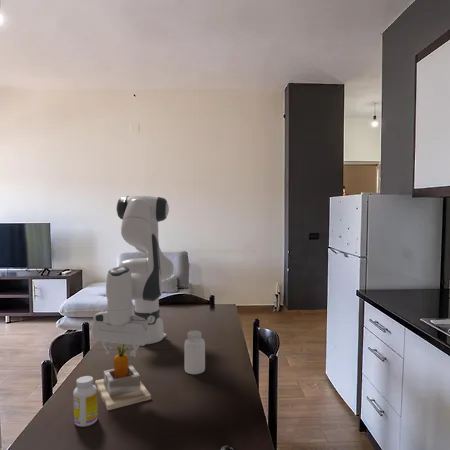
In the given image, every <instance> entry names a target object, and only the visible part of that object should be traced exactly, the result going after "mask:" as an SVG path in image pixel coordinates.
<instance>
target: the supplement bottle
mask: <svg viewBox="0 0 450 450" xmlns="http://www.w3.org/2000/svg"><path fill="white" fill-rule="evenodd" d="M75 382H76V384H75V385H76V387H75V388H74V389H73V392H72V394H73V395H72V398H73V400H72V401H73V422H74V424H75V426H77V427H89V426H91V425H93V424H95V423H96V422H97V420H98V417H99V413H98V389H97V387H96V385H95V384H94V377H93V376H91V375H85V376H80V377H78V378H77V379H76V381H75Z"/></svg>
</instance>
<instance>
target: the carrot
mask: <svg viewBox="0 0 450 450" xmlns="http://www.w3.org/2000/svg"><path fill="white" fill-rule="evenodd" d="M121 345H122V346H121ZM121 345H118V346H117V347H116V350H117V352H118V354H116V355H115V356H114V357H113V369H114V371H115V376H116V379H118V378H123V377H127V374H128V366H129V360H130V359H129V356H128V355H127V354H126V351H127V350H129V347H125V345H126V344H121Z"/></svg>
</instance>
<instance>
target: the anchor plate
mask: <svg viewBox="0 0 450 450" xmlns="http://www.w3.org/2000/svg"><path fill="white" fill-rule="evenodd" d="M94 382H95V383H94V385H95V386H96V388H97V393H98V394H99V396H100V397H101V400H102V402H103V403H104V406H105V408H106V410H107V411H112V410H115V409H118V408H122V407H125V406H130V405H134V404H138V403H142V402H146V401H149V400H152V395H151V393H150V392H149V391H148V389H147V388H146V387H145V385H144V384H143V383H142V381H141V375H140V373H139V372H138V371H137V370H136V369H135V366H133V365H132V364H130V365H128V374H127V377H123V378H118V379H116V376H115V371H114V368H111V369H107V370H103V378H101V379H96V380H95V381H94Z"/></svg>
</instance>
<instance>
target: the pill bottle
mask: <svg viewBox="0 0 450 450" xmlns="http://www.w3.org/2000/svg"><path fill="white" fill-rule="evenodd" d="M183 344H184V345H183V346H184V348H183V349H184V353H183V354H184V356H183V357H184V372H185V373H187V374H190V375H199V374H202V373H205V370H206V342H205V339H204V338H202V332H201V331H200V330H189V331H187V339H185V340H184V343H183Z"/></svg>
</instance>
